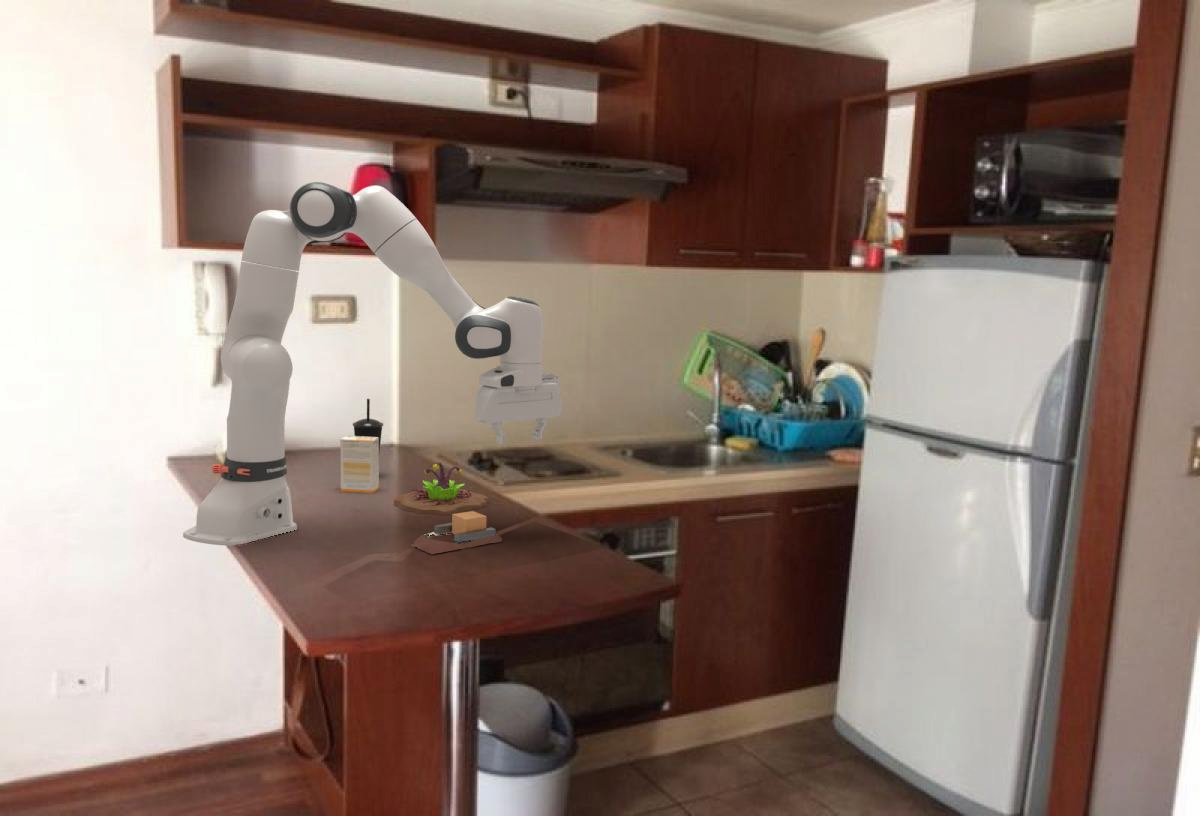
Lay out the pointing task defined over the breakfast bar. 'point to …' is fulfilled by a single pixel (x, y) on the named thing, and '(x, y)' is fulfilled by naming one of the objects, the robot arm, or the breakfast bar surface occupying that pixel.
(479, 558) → the breakfast bar surface
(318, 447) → the breakfast bar surface
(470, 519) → the orange block
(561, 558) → the breakfast bar surface
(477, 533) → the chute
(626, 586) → the breakfast bar surface
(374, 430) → the drinking cup
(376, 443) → the supplement box
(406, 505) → the plant
